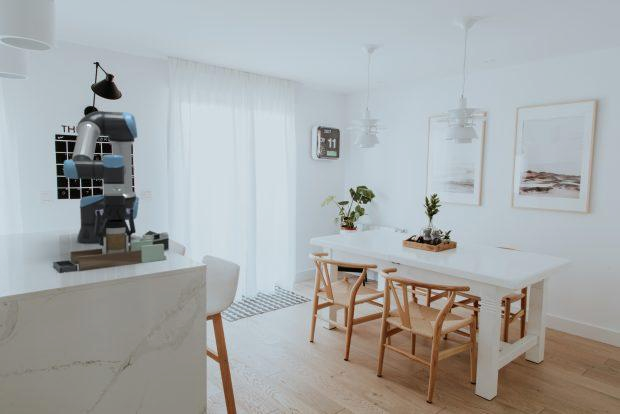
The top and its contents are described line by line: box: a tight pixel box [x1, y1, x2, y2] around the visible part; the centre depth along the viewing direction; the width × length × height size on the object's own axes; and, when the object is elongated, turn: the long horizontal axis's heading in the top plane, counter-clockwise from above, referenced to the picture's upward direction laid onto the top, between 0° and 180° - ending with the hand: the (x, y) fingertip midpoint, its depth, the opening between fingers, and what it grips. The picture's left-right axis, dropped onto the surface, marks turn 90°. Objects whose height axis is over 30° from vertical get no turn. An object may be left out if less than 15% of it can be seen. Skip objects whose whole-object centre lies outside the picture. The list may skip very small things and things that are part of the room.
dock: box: [129, 240, 167, 264], centre depth 169 cm, size 13×10×6 cm
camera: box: [138, 230, 170, 252], centre depth 183 cm, size 16×9×10 cm, turn 158°
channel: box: [70, 245, 142, 272], centre depth 159 cm, size 13×22×5 cm, turn 132°
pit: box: [52, 259, 79, 274], centre depth 150 cm, size 12×6×2 cm, turn 42°
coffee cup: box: [105, 219, 128, 254], centre depth 161 cm, size 8×8×15 cm
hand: (115, 252), depth 161 cm, fingers closed on coffee cup, 7 cm apart
